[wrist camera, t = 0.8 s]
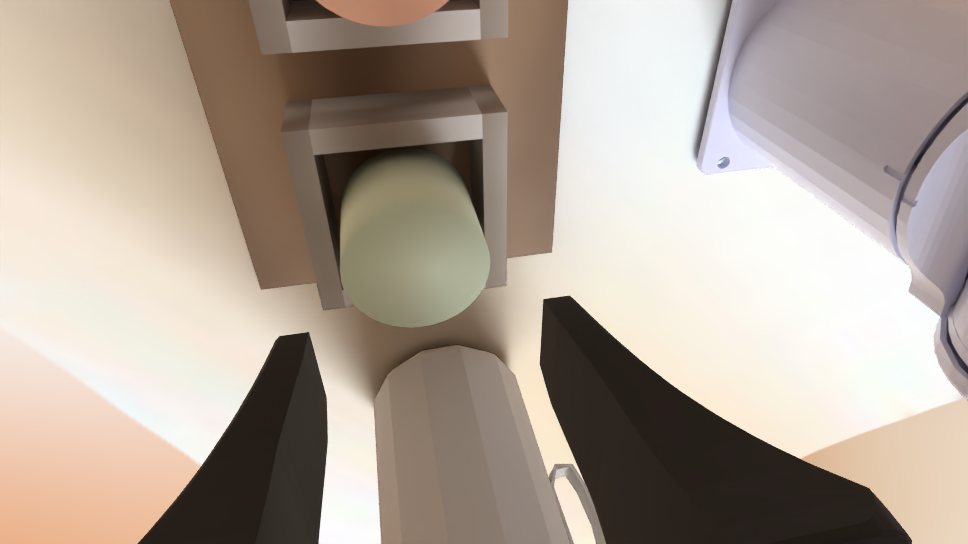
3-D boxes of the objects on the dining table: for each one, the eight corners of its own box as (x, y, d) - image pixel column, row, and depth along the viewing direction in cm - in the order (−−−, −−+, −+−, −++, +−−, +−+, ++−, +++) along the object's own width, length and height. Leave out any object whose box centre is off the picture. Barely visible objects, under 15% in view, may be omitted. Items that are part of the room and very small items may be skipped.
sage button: (466, 141, 19) (489, 196, 16) (470, 252, 22) (491, 316, 19) (330, 155, 18) (327, 214, 15) (351, 266, 21) (352, 336, 18)
